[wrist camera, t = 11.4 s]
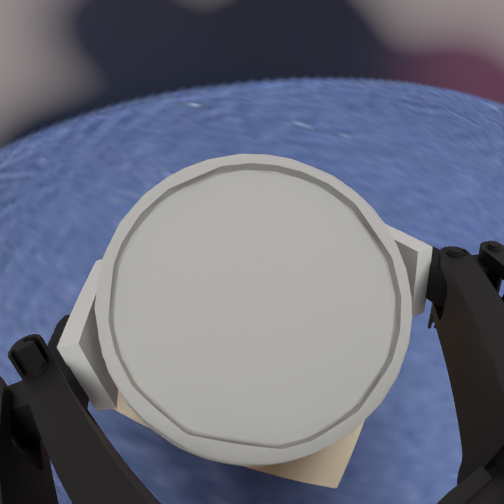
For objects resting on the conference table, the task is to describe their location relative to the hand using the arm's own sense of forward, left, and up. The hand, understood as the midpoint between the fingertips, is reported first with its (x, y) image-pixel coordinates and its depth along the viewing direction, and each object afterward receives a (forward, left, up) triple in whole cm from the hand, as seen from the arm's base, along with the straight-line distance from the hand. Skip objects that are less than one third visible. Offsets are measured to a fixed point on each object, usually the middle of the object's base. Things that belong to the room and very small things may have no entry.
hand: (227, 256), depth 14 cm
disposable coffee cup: (+2, -2, -6) cm, 7 cm away
